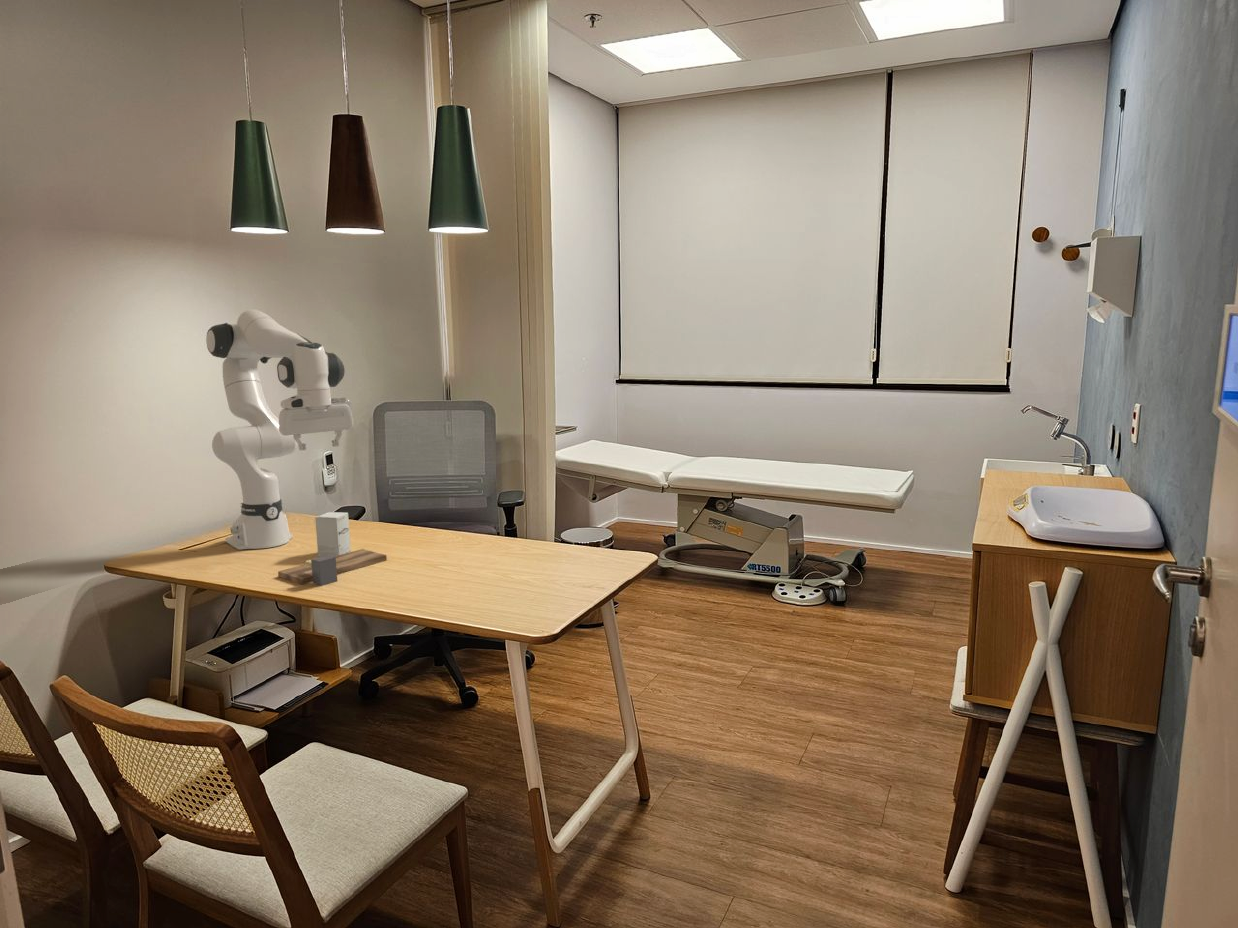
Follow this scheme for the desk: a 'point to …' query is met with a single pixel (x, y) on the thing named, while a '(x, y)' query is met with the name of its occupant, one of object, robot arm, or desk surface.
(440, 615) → the desk surface
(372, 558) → the plank
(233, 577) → the desk surface
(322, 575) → the gray-headed mallet
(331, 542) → the supplement box
